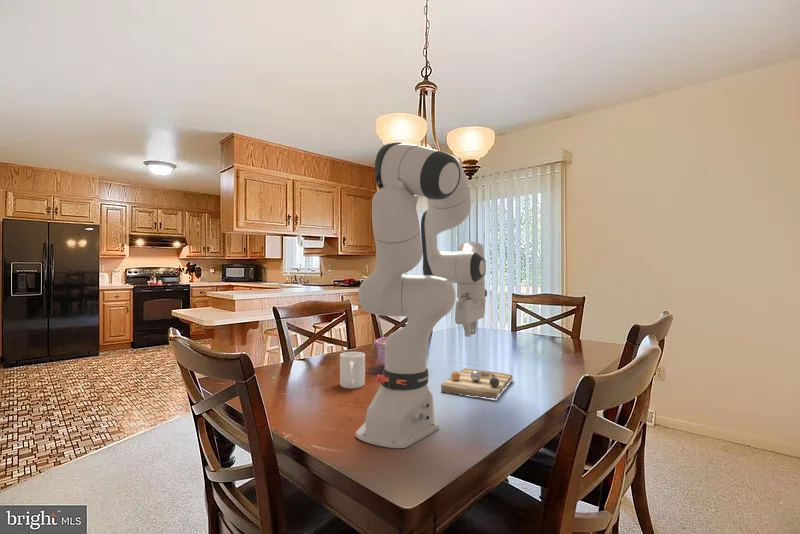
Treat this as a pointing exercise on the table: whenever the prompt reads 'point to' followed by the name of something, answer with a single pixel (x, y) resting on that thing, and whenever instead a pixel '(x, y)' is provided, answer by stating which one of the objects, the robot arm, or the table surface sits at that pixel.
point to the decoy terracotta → (455, 375)
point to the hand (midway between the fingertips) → (470, 335)
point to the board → (476, 384)
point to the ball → (475, 376)
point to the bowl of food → (381, 349)
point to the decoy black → (494, 382)
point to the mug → (352, 370)
